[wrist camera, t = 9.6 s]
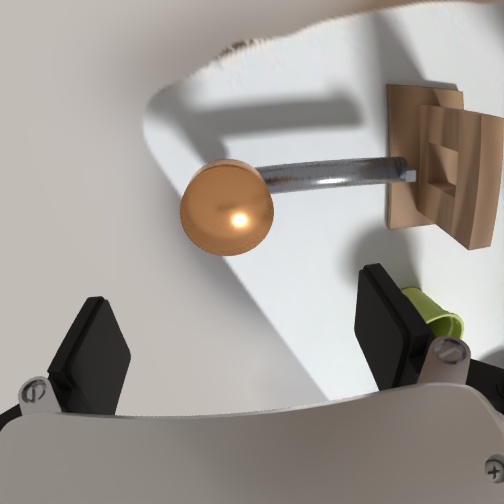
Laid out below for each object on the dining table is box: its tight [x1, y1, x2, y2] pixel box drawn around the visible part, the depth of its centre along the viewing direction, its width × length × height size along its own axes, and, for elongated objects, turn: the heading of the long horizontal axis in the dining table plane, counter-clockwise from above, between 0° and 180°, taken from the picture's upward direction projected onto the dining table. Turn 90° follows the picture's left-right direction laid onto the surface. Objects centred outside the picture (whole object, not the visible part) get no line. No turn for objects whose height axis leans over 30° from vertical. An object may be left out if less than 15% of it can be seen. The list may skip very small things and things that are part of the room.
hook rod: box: [180, 157, 416, 256], centre depth 25 cm, size 19×6×10 cm, turn 96°
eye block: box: [386, 84, 504, 250], centre depth 26 cm, size 10×16×11 cm, turn 6°
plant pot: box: [401, 287, 464, 339], centre depth 36 cm, size 9×9×9 cm
